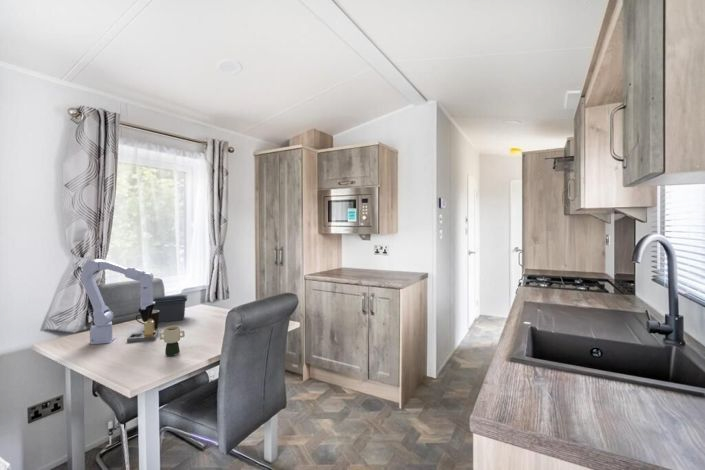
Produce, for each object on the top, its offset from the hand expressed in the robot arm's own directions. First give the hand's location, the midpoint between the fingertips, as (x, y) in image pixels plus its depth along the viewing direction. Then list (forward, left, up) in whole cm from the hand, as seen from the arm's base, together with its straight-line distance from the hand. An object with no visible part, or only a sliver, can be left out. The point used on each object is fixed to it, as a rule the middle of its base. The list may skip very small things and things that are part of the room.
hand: (147, 319), depth 193 cm
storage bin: (+5, +35, -11) cm, 37 cm away
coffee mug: (-3, +18, -11) cm, 21 cm away
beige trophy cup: (+18, -30, -11) cm, 36 cm away
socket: (-2, -1, -10) cm, 10 cm away
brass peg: (+1, -1, -10) cm, 10 cm away
